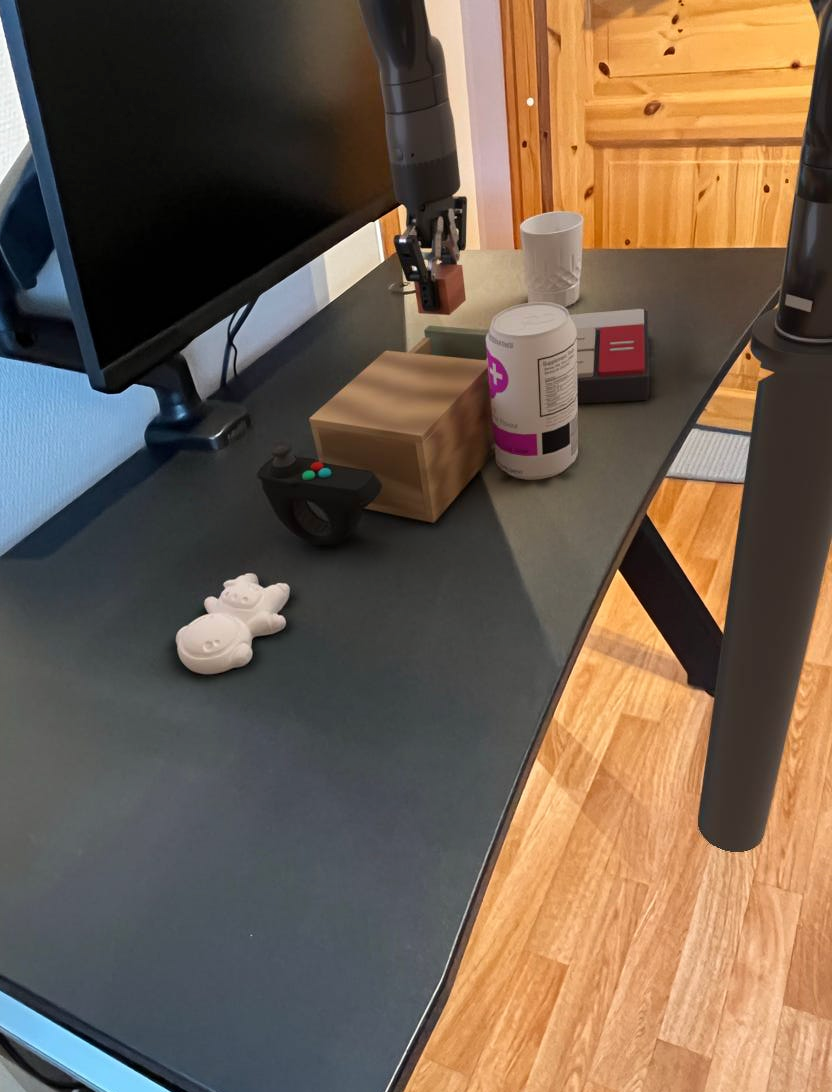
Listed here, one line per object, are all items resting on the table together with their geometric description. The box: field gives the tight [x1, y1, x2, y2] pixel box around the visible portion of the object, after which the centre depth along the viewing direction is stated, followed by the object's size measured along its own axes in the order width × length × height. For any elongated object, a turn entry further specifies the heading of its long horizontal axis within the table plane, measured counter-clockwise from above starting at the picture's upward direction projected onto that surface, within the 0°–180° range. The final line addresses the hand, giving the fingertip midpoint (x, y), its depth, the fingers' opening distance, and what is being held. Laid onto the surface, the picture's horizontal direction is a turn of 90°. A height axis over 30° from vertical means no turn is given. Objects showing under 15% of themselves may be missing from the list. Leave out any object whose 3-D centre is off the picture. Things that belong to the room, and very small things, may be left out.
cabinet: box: [308, 350, 495, 524], centre depth 88 cm, size 15×13×10 cm
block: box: [413, 263, 467, 316], centre depth 107 cm, size 4×4×4 cm
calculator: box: [569, 308, 651, 405], centre depth 99 cm, size 11×4×15 cm
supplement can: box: [486, 302, 579, 481], centre depth 84 cm, size 8×8×15 cm
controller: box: [256, 441, 382, 547], centre depth 82 cm, size 4×12×10 cm, turn 59°
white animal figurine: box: [175, 572, 291, 675], centre depth 77 cm, size 9×12×3 cm
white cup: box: [519, 210, 584, 308], centre depth 114 cm, size 8×8×10 cm
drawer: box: [407, 324, 489, 361], centre depth 94 cm, size 18×11×8 cm, turn 147°
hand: (441, 300), depth 108 cm, fingers closed on block, 4 cm apart
